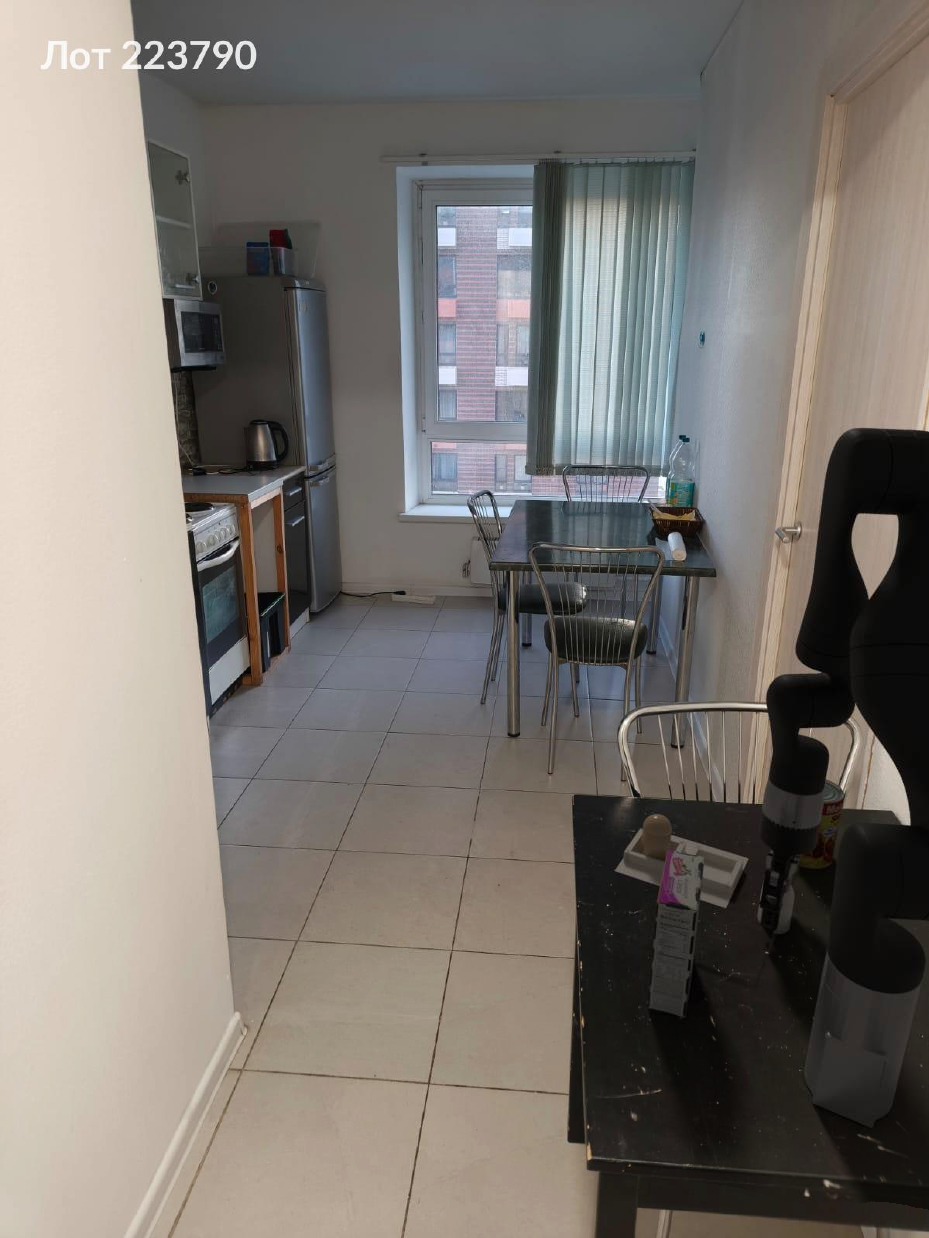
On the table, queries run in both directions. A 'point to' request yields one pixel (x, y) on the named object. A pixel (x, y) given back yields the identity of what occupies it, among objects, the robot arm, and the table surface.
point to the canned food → (826, 829)
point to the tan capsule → (656, 837)
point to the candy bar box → (675, 933)
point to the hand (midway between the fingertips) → (775, 909)
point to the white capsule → (782, 912)
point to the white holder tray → (718, 864)
